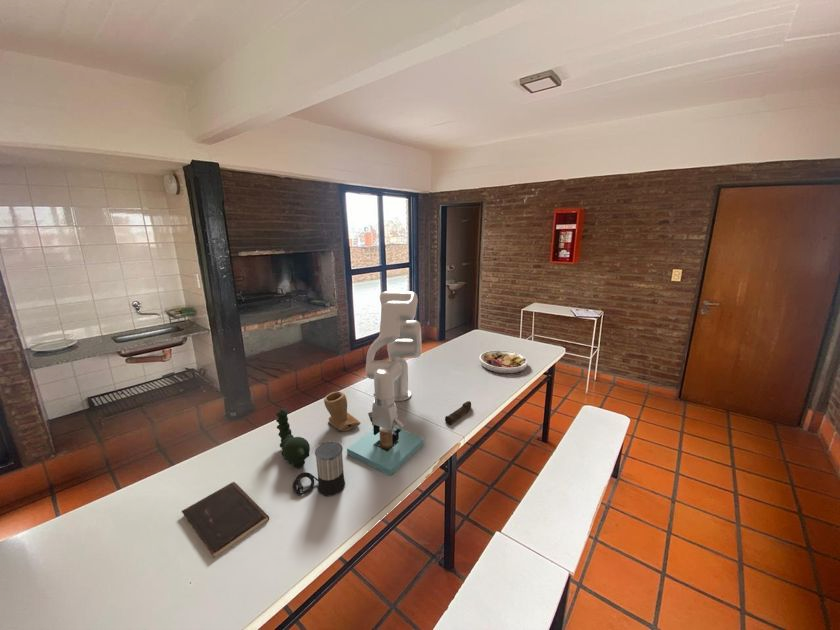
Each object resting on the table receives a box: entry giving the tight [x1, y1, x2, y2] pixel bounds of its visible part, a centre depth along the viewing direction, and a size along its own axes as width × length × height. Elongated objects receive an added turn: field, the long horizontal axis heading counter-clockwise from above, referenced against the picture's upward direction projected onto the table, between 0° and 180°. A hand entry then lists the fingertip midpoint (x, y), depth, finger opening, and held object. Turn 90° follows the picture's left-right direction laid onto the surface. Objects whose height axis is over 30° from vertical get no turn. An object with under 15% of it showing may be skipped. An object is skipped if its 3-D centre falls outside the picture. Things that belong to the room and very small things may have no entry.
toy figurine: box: [275, 408, 311, 469], centre depth 128 cm, size 9×19×25 cm
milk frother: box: [292, 440, 346, 497], centre depth 113 cm, size 14×16×15 cm
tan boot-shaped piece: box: [323, 391, 361, 432], centre depth 150 cm, size 15×12×15 cm
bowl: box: [479, 349, 528, 374], centre depth 215 cm, size 30×30×8 cm
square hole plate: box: [346, 427, 425, 477], centre depth 135 cm, size 22×22×2 cm
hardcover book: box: [181, 481, 270, 558], centre depth 103 cm, size 16×23×2 cm
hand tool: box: [444, 400, 472, 426], centre depth 158 cm, size 19×4×5 cm, turn 136°
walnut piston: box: [379, 428, 394, 452], centre depth 134 cm, size 5×5×8 cm
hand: (386, 437), depth 134 cm, fingers open, 9 cm apart
